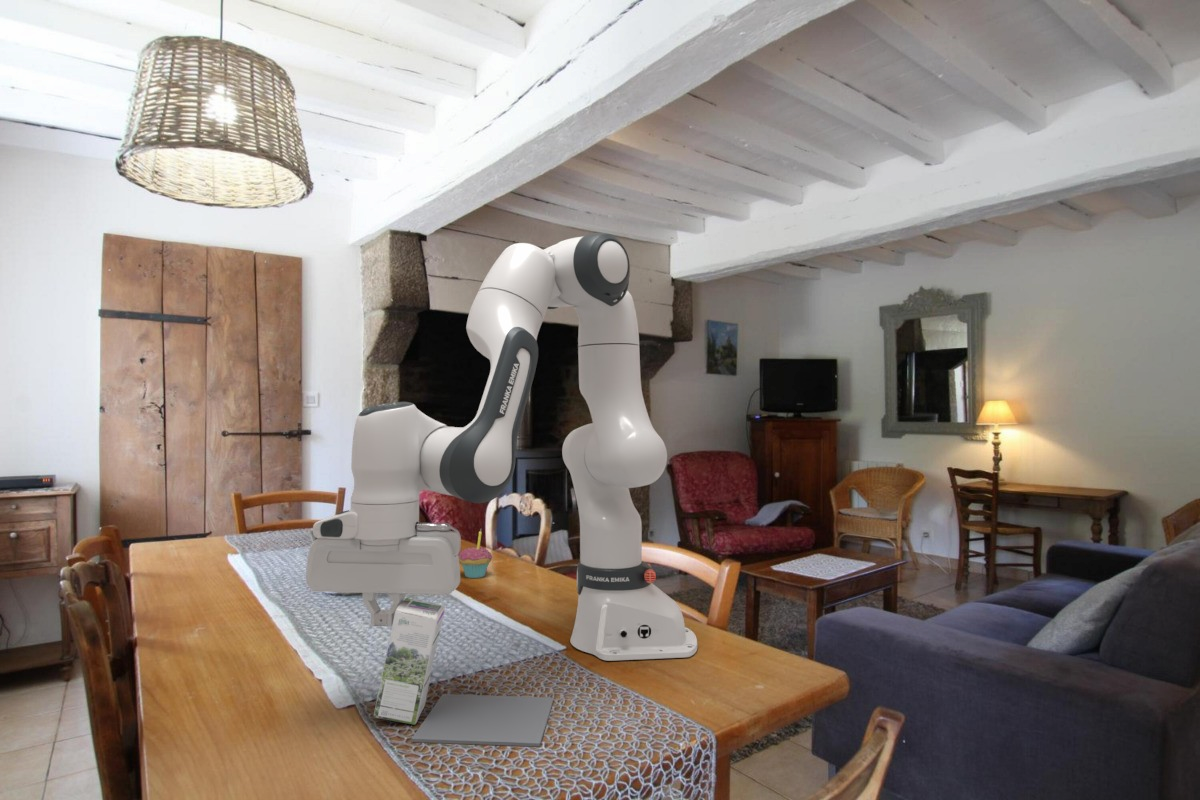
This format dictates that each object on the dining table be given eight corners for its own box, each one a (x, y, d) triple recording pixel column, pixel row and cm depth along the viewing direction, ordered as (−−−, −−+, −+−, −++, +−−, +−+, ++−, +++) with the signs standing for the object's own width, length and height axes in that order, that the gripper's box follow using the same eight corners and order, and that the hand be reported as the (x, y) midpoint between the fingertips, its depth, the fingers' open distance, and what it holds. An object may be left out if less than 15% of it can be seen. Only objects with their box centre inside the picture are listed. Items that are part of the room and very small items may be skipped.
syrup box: (425, 706, 91) (446, 603, 91) (415, 727, 85) (438, 616, 85) (384, 699, 91) (406, 595, 91) (371, 719, 85) (394, 608, 85)
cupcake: (498, 574, 166) (499, 527, 166) (475, 582, 158) (476, 532, 159) (473, 570, 170) (474, 523, 170) (449, 577, 163) (450, 528, 163)
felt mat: (553, 700, 93) (553, 697, 93) (539, 746, 80) (539, 743, 80) (442, 696, 94) (442, 694, 94) (411, 742, 81) (411, 738, 81)
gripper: (467, 519, 91) (465, 619, 91) (324, 517, 92) (322, 615, 92) (454, 527, 85) (452, 635, 85) (300, 524, 86) (298, 630, 86)
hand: (383, 625), depth 88 cm, fingers closed
